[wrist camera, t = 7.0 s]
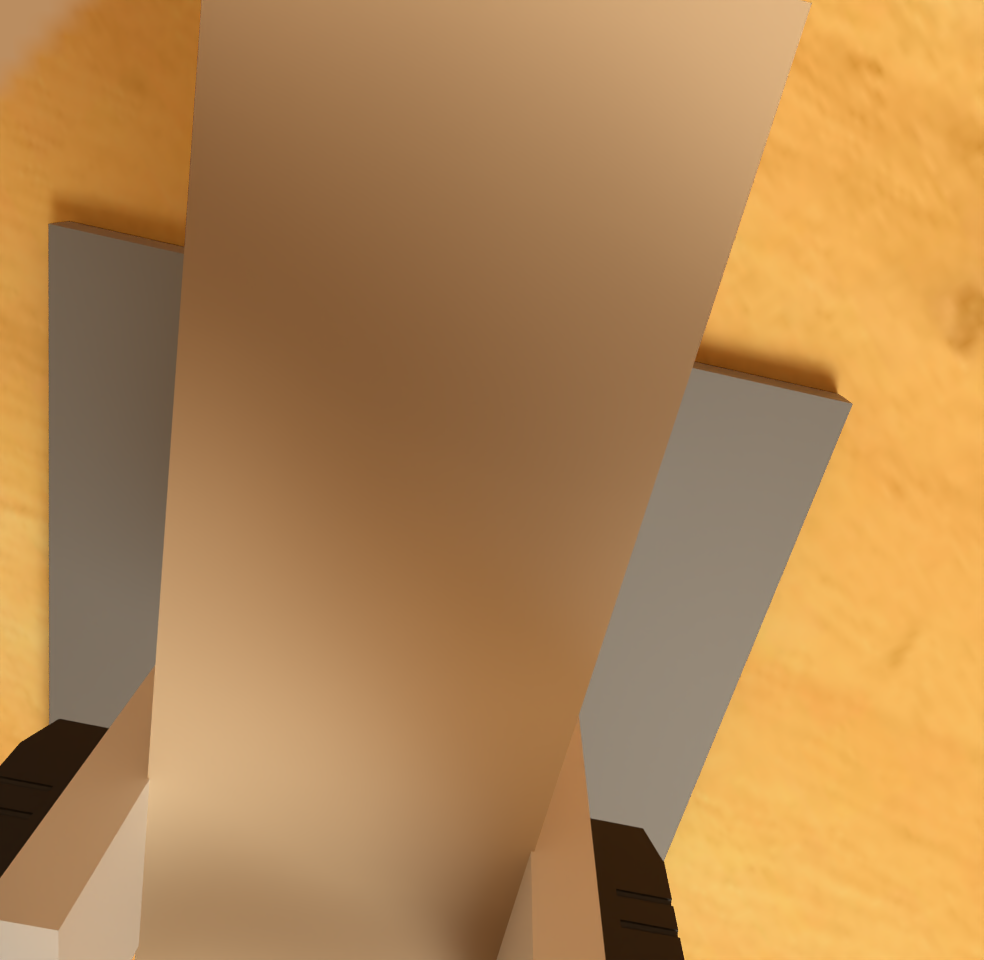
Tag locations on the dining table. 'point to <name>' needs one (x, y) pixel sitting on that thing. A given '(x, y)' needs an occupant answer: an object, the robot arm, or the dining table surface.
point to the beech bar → (420, 438)
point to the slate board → (641, 600)
